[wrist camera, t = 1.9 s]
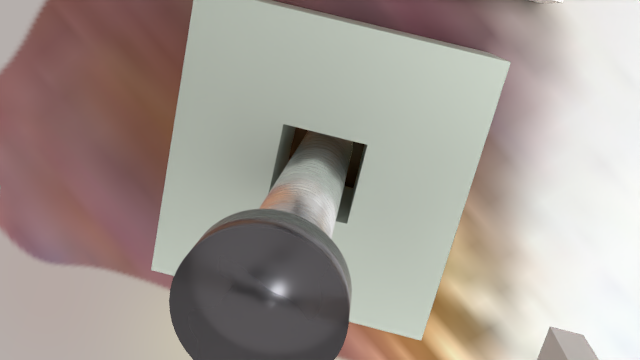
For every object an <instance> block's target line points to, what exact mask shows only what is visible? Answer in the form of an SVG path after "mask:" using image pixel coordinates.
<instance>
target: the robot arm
mask: <svg viewBox="0 0 640 360" xmlns="http://www.w3.org/2000/svg"><path fill="white" fill-rule="evenodd" d="M0 187H1V185H0ZM537 360H598V358H597V356H596V355H595V353H594V352H593V350H592V348H591V347H590V345H589V344H588V342H587V340H586V339H585V337H584V336H583V335H581V334H577V333H573V332H569V331H565V330H561V329H557V328H554V327H550V328H549V330H548V333H547V336H546V338H545V341H544V343H543V346H542V348H541V351H540V354H539V356H538V359H537Z"/></svg>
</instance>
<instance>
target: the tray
mask: <svg viewBox="0 0 640 360" xmlns="http://www.w3.org/2000/svg"><path fill="white" fill-rule="evenodd" d="M528 1H532V2H537V3H563V1H564V0H528Z"/></svg>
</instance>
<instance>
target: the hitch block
mask: <svg viewBox="0 0 640 360" xmlns="http://www.w3.org/2000/svg"><path fill="white" fill-rule="evenodd" d="M510 63H511V62H509V61H507V60H504V59H502V58H500V57H498V56H495V55H493V54H491V53H489V52H485V51H481V50H476V49H472V48H468V47H464V46H460V45H456V44H452V43H447V42H443V41H439V40H435V39H431V38H427V37H423V36H418V35H414V34H410V33H406V32H402V31H398V30H394V29H389V28H385V27H381V26H377V25H373V24H369V23H365V22H360V21H356V20H352V19H348V18H344V17H340V16H336V15H331V14H327V13H323V12H319V11H315V10H311V9H307V8H302V7H298V6H294V5H290V4H286V3H282V2H278V1H273V0H194V1H193V7H192V13H191V20H190V26H189V32H188V39H187V45H186V51H185V58H184V64H183V71H182V77H181V83H180V90H179V96H178V102H177V109H176V115H175V122H174V128H173V134H172V141H171V147H170V153H169V160H168V166H167V172H166V179H165V185H164V192H163V198H162V204H161V211H160V217H159V223H158V230H157V236H156V243H155V249H154V255H153V262H152V268H151V270H153V271H157V272H161V273H165V274H168V275H172V276H175V273H176V271H177V269H178V267H179V265H180V264H181V262H182V261H183V259H184V258H185V257H186V256H187V254H188V253H189V252H190V251H191V249H192V248H193V247H194V246H195V244H196V243H197V242H198V241H199V239H200V238H201V237H202V236H203V235H204V233H205V232H206V231H207V230H208V229H209V228H211V227H212V226H213V225H214V224H216V223H217V222H219V221H220V220H222V219H224V218H226V217H228V216H230V215H232V214H235V213H238V212H241V211H246V210H251V209H259V208H260V206H261V205H262V203H263V201H264V200H265V198H266V197H267V195H268V194H269V192H270V190H271V189H272V187H273V186H274V184H275V183H276V181H277V179H278V178H279V176H280V175H281V173H282V171H283V170H284V168H285V167H286V165H287V164H288V161H289V156H290V151H291V147H292V142H293V138H294V133H295V129H296V127H298V128H302V129H306V130H310V131H314V132H318V133H322V134H326V135H330V136H334V137H338V138H342V139H346V140H350V141H354V142H358V143H362V144H365V146H364V150H363V154H362V157H361V161H360V165H359V169H358V173H357V177H356V181H355V184H354V188H351V187H347V186H344V188H343V193H342V197H341V201H340V205H339V209H338V214H337V218H336V222H335V226H334V231H333V235H332V241H333V242H334V243H335V244H336V246H337V247H338V248H339V250H340V252H341V253H342V255H343V257H344V259H345V261H346V264H347V266H348V269H349V273H350V277H351V285H352V298H351V307H350V315H349V322H352V323H356V324H360V325H364V326H368V327H371V328H375V329H379V330H383V331H387V332H391V333H394V334H398V335H402V336H406V337H410V338H414V339H417V340H421V339H422V336H423V333H424V330H425V327H426V324H427V321H428V318H429V314H430V311H431V308H432V305H433V302H434V299H435V296H436V293H437V290H438V287H439V283H440V280H441V277H442V274H443V271H444V268H445V265H446V262H447V259H448V255H449V252H450V249H451V246H452V243H453V240H454V237H455V234H456V231H457V228H458V224H459V221H460V218H461V215H462V212H463V209H464V206H465V203H466V200H467V197H468V193H469V190H470V187H471V184H472V181H473V178H474V175H475V172H476V169H477V166H478V162H479V159H480V156H481V153H482V150H483V147H484V144H485V141H486V138H487V134H488V131H489V128H490V125H491V122H492V119H493V116H494V113H495V110H496V107H497V103H498V100H499V97H500V94H501V91H502V88H503V85H504V82H505V79H506V76H507V72H508V69H509V66H510Z"/></svg>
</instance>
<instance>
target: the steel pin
mask: <svg viewBox="0 0 640 360" xmlns="http://www.w3.org/2000/svg"><path fill="white" fill-rule="evenodd" d="M352 149H353V145H352V141H350V140H346V139H342V138H338V137H334V136H330V135H326V134H322V133H318V132H314V131H310V130H309V131H308V132H307V134H306V135H305V137H304V138H303V140H302V141H301V143H300V145H299V146H298V148H297V149H296V151H295V152H294V154H293V156H292V157H291V159H290V160H289V162H288V164H287V165H286V167H285V168H284V170H283V171H282V173H281V175H280V176H279V178H278V179H277V181H276V183H275V184H274V186H273V187H272V189H271V190H270V192H269V194H268V195H267V197H266V198H265V200H264V201H263V203H262V205H261V206H260V208H259V209H251V210H246V211H241V212H238V213H235V214H232V215H230V216H228V217H226V218H224V219H222V220H220V221H219V222H217V223H216V224H214V225H213V226H212V227H211V228H209V229H208V230H207V231H206V232H205V233H204V235H203V236H202V237H201V238H200V239H199V241H198V242H197V243H196V244H195V246H194V247H193V248H192V249H191V251H190V252H189V253H188V254H187V256H186V257H185V258H184V259H183V261H182V262H181V264H180V265H179V267H178V269H177V271H176V273H175V276H174V278H173V281H172V285H171V289H170V299H169V303H170V314H171V319H172V323H173V326H174V329H175V332H176V334H177V336H178V338H179V340H180V342H181V344H182V345H183V347H184V348H185V350H186V351H187V352H188V354H189V355H190V356H191V357H192V359H193V360H334V359H335V358H336V357H337V355H338V354H339V352H340V350H341V348H342V346H343V343H344V341H345V338H346V334H347V329H348V324H349V315H350V307H351V298H352V285H351V277H350V273H349V269H348V266H347V264H346V261H345V259H344V257H343V255H342V253H341V252H340V250H339V248H338V247H337V246H336V244H335V243H334V242H333V241H332V235H333V231H334V226H335V222H336V218H337V214H338V209H339V205H340V201H341V197H342V193H343V188H344V184H345V180H346V176H347V171H348V167H349V163H350V159H351V155H352Z"/></svg>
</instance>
